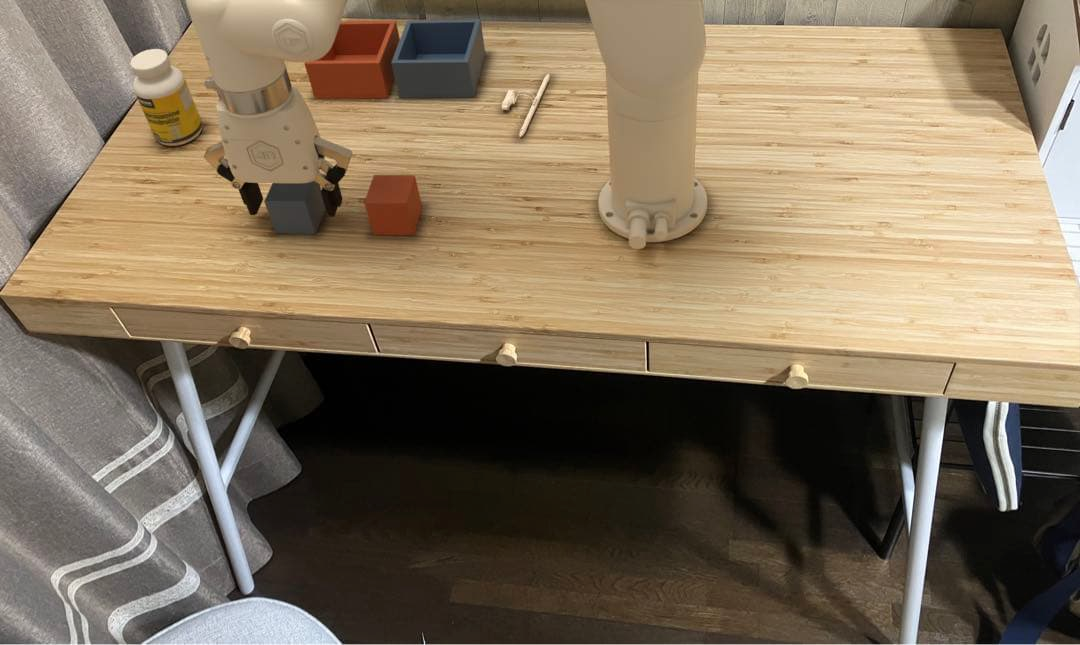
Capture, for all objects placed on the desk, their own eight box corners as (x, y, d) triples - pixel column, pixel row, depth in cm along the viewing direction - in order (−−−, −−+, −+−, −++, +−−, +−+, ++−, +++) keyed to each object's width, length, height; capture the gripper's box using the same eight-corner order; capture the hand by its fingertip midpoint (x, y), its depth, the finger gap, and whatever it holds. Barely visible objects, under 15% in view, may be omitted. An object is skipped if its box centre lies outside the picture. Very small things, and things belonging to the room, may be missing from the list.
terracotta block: (414, 235, 118) (406, 203, 114) (372, 235, 119) (363, 202, 115) (422, 207, 121) (415, 174, 118) (382, 206, 122) (373, 174, 118)
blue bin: (474, 97, 136) (468, 61, 132) (399, 98, 137) (391, 62, 133) (485, 54, 143) (480, 19, 139) (414, 55, 144) (407, 20, 140)
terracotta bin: (387, 98, 137) (379, 62, 133) (314, 98, 139) (304, 63, 135) (403, 55, 144) (395, 20, 140) (333, 56, 146) (324, 21, 142)
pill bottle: (146, 142, 135) (111, 68, 127) (176, 115, 139) (145, 41, 131) (183, 152, 133) (151, 77, 125) (213, 124, 137) (184, 49, 128)
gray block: (316, 234, 120) (305, 202, 116) (275, 233, 120) (263, 201, 117) (326, 206, 123) (316, 174, 119) (287, 205, 124) (276, 173, 120)
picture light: (523, 139, 129) (521, 125, 127) (490, 136, 130) (488, 122, 128) (551, 76, 138) (550, 63, 136) (521, 74, 139) (519, 60, 137)
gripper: (166, 107, 107) (216, 228, 119) (323, 108, 104) (358, 231, 117) (190, 67, 112) (236, 187, 124) (341, 67, 109) (372, 189, 122)
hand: (295, 208), depth 120 cm, fingers open, 9 cm apart
